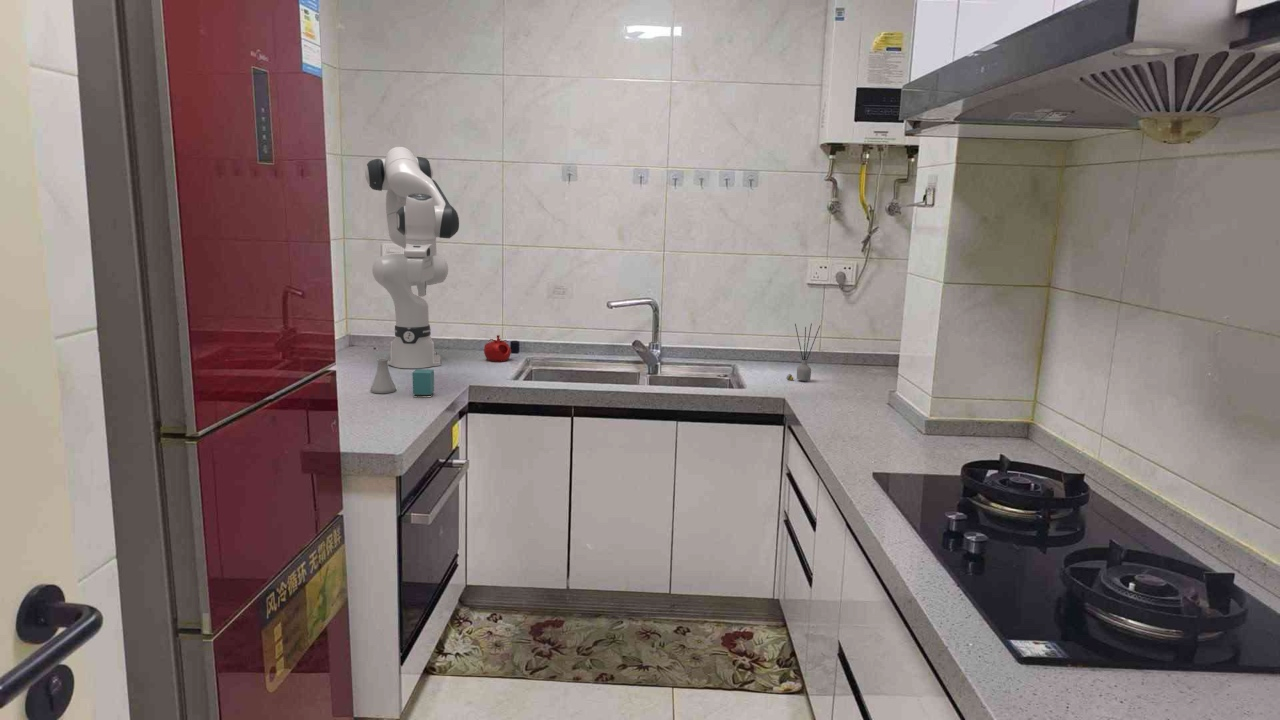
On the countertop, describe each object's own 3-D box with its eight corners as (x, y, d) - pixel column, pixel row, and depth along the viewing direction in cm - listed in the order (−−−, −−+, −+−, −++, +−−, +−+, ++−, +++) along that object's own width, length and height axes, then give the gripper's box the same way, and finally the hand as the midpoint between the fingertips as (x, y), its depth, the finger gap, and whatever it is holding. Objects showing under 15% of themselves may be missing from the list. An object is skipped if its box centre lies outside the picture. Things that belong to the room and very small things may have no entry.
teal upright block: (416, 390, 251) (416, 369, 250) (434, 390, 251) (433, 369, 250) (412, 394, 246) (412, 372, 245) (430, 394, 246) (430, 373, 245)
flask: (365, 392, 251) (364, 359, 249) (383, 387, 257) (382, 356, 256) (383, 395, 248) (382, 362, 246) (401, 390, 254) (400, 358, 252)
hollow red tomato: (479, 361, 303) (479, 336, 301) (490, 357, 312) (490, 332, 311) (505, 363, 301) (504, 338, 299) (515, 358, 310) (515, 334, 308)
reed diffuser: (816, 380, 285) (820, 322, 281) (817, 384, 278) (821, 325, 275) (786, 378, 287) (789, 321, 283) (786, 382, 280) (789, 323, 276)
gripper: (417, 247, 257) (419, 292, 259) (402, 251, 237) (403, 299, 239) (438, 247, 257) (439, 292, 260) (424, 251, 237) (426, 300, 239)
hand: (422, 296), depth 249 cm, fingers closed
